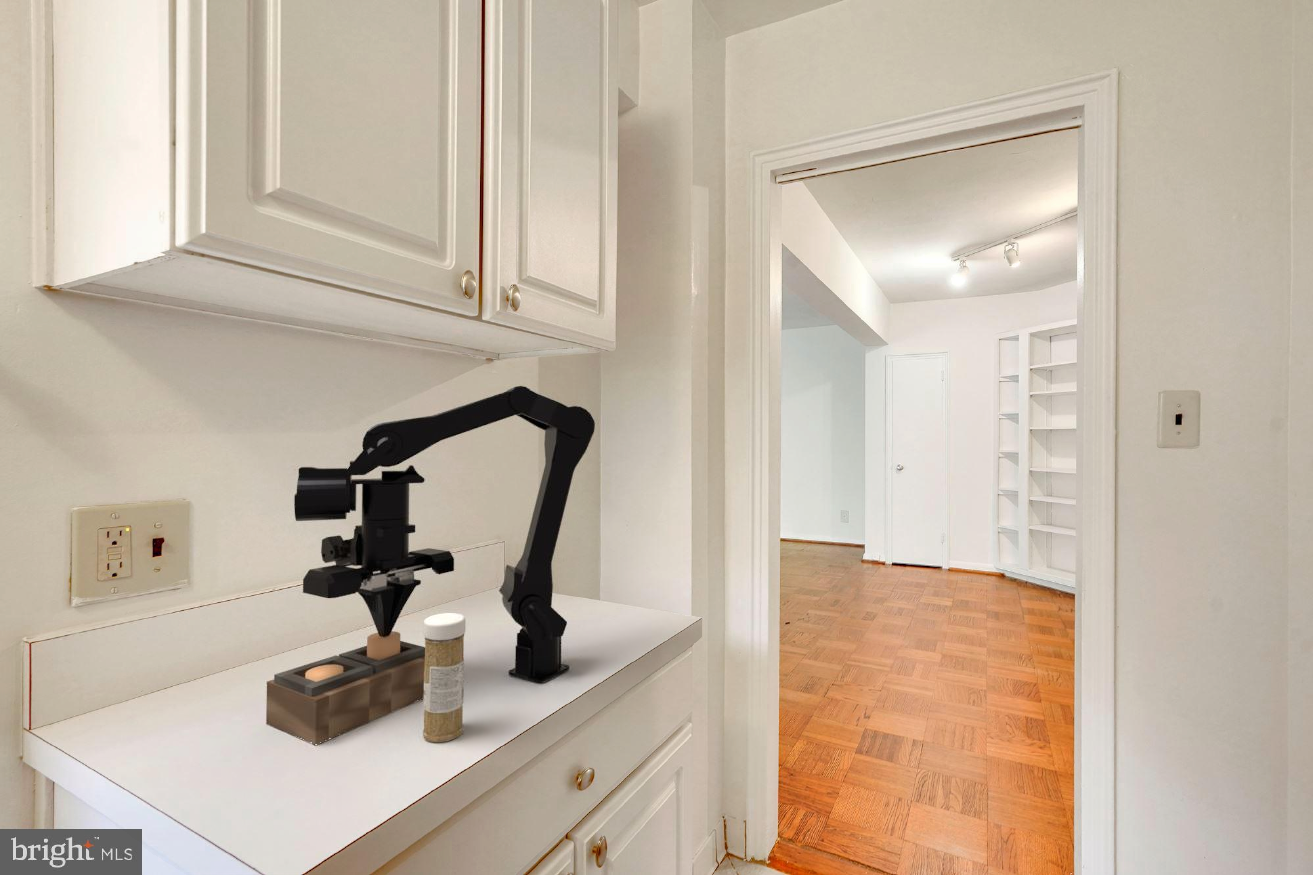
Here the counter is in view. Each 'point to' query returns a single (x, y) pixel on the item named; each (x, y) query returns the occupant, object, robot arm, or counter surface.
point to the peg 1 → (323, 672)
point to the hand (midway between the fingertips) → (384, 635)
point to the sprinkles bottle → (443, 676)
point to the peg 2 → (383, 645)
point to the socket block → (345, 693)
